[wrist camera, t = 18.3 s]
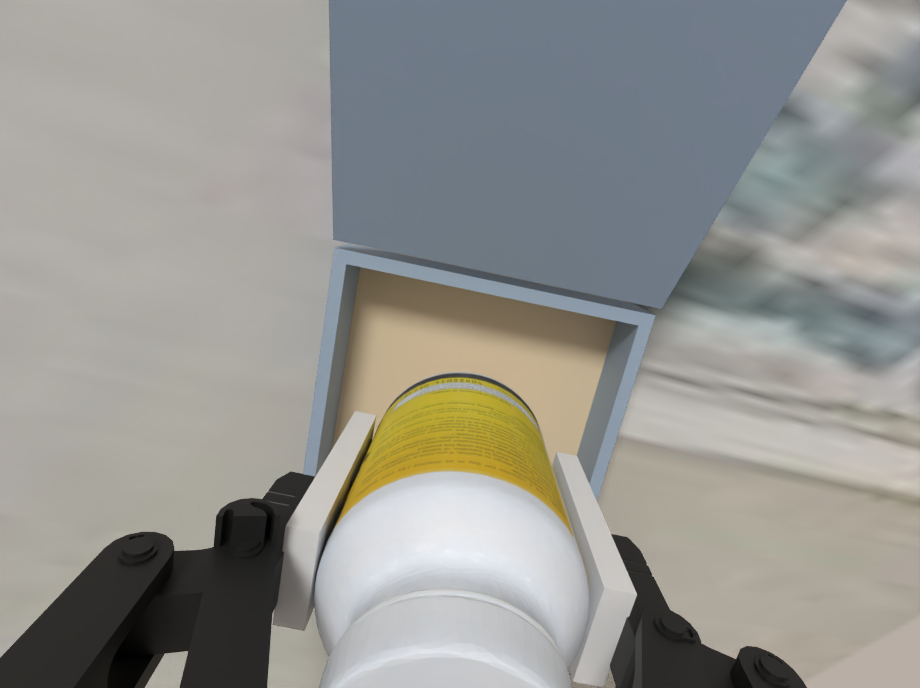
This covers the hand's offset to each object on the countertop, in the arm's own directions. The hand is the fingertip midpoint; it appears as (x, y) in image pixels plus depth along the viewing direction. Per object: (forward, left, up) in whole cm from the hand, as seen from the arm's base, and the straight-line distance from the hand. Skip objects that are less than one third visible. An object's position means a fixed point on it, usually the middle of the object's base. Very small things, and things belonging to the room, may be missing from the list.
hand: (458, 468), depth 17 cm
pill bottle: (0, 0, -2) cm, 2 cm away
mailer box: (0, 0, -5) cm, 5 cm away
